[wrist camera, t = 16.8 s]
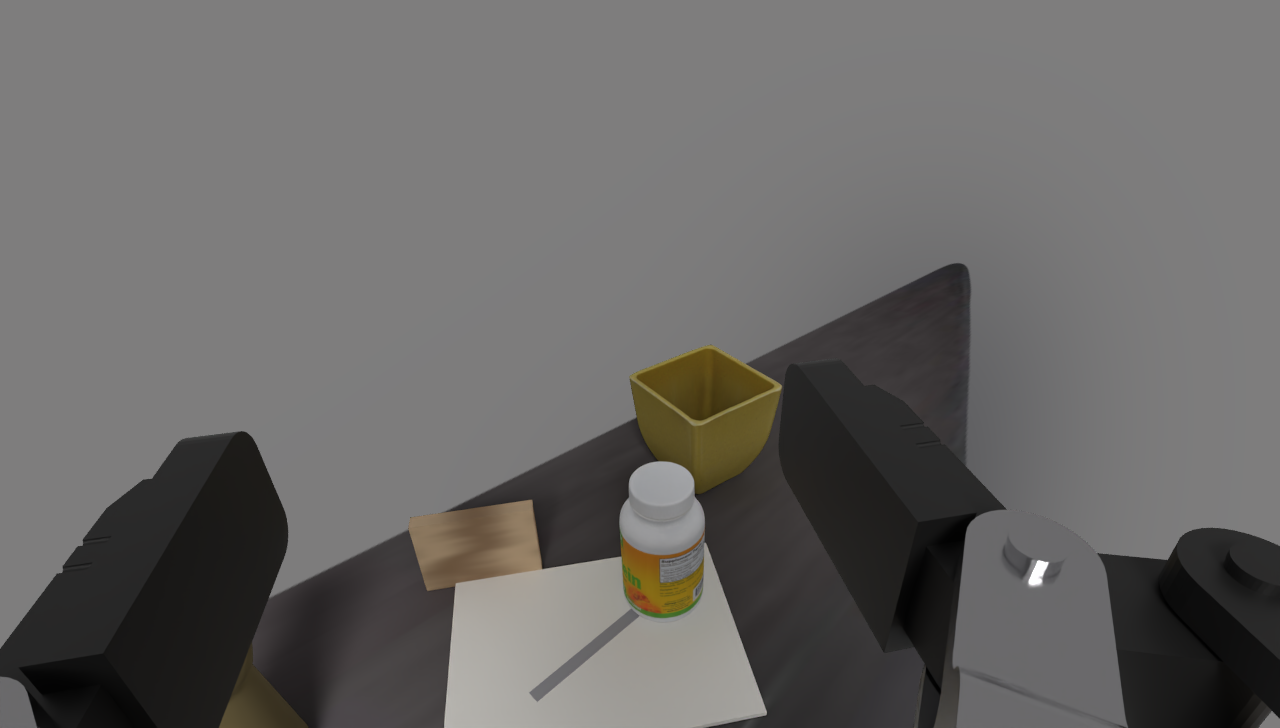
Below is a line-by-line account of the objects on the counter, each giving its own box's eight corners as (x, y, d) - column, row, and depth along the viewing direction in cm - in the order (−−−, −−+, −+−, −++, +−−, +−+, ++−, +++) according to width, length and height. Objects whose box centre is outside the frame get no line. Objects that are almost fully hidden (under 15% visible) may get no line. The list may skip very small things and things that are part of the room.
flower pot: (708, 425, 60) (710, 341, 56) (776, 475, 54) (785, 384, 49) (630, 462, 56) (626, 374, 51) (694, 520, 50) (696, 426, 45)
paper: (441, 780, 34) (439, 777, 34) (456, 586, 45) (455, 583, 45) (766, 715, 37) (766, 711, 36) (705, 545, 48) (705, 542, 47)
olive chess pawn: (278, 697, 39) (208, 569, 33) (338, 754, 36) (273, 624, 30) (169, 788, 34) (68, 659, 29) (227, 862, 31) (127, 734, 26)
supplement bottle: (612, 574, 45) (604, 466, 40) (682, 551, 47) (683, 445, 42) (640, 636, 41) (635, 524, 36) (717, 608, 42) (722, 497, 37)
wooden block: (427, 590, 45) (408, 528, 42) (428, 578, 46) (410, 516, 43) (542, 572, 46) (532, 509, 43) (541, 560, 47) (532, 498, 44)
